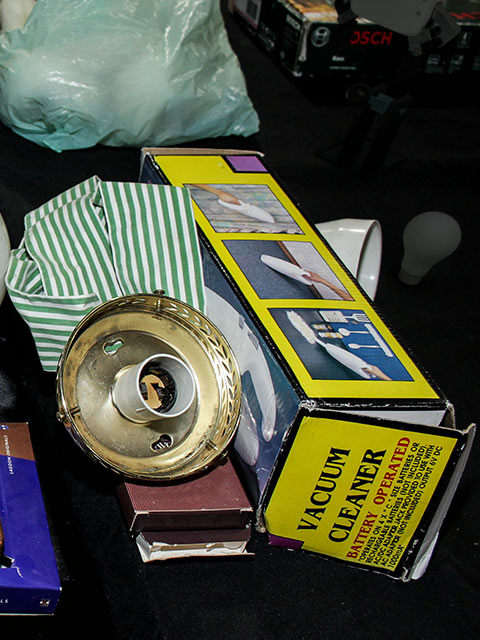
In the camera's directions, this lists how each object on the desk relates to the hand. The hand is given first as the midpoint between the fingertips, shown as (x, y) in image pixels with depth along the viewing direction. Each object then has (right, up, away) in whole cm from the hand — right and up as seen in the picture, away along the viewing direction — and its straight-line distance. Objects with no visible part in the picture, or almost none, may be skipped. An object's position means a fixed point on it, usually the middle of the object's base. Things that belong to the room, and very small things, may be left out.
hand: (369, 64), depth 119 cm
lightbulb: (+2, -30, -5) cm, 31 cm away
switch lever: (+3, -5, +7) cm, 9 cm away
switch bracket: (+8, -10, +16) cm, 21 cm away
